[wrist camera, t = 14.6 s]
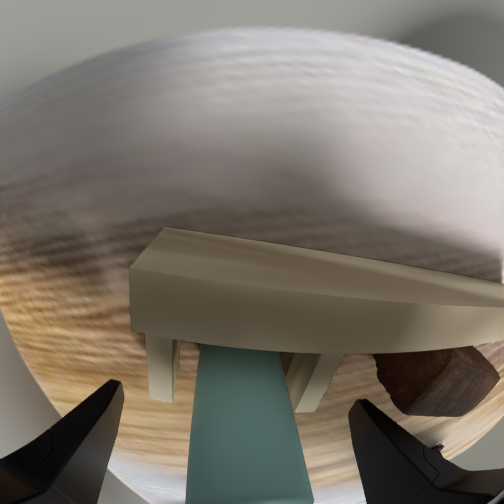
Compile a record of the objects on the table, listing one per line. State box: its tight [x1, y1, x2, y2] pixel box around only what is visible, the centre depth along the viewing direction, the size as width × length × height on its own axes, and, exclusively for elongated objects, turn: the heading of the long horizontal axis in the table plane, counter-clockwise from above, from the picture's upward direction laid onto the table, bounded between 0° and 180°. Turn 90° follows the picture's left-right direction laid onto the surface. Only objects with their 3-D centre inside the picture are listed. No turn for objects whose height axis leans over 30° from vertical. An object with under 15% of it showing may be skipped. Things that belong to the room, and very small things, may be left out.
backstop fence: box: [130, 227, 504, 413], centre depth 11 cm, size 7×22×4 cm, turn 79°
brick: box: [373, 345, 500, 417], centre depth 12 cm, size 11×4×5 cm, turn 61°
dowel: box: [185, 343, 314, 504], centre depth 8 cm, size 4×4×8 cm
